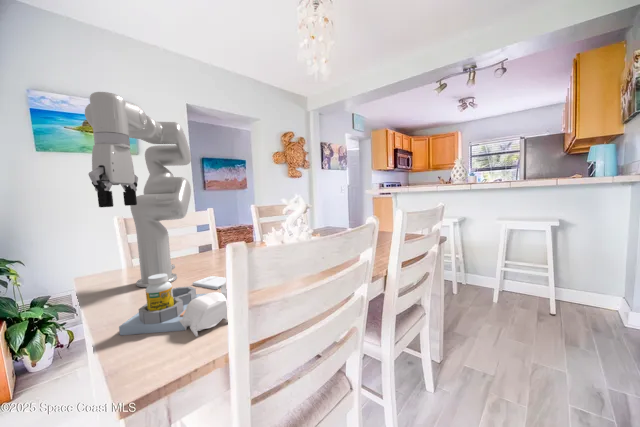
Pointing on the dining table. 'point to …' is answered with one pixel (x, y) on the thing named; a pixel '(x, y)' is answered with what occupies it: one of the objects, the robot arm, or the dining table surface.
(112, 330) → the dining table surface
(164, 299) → the supplement bottle
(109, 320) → the dining table surface
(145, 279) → the robot arm
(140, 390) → the dining table surface
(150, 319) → the socket board
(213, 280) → the external hard drive
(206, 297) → the white figurine
